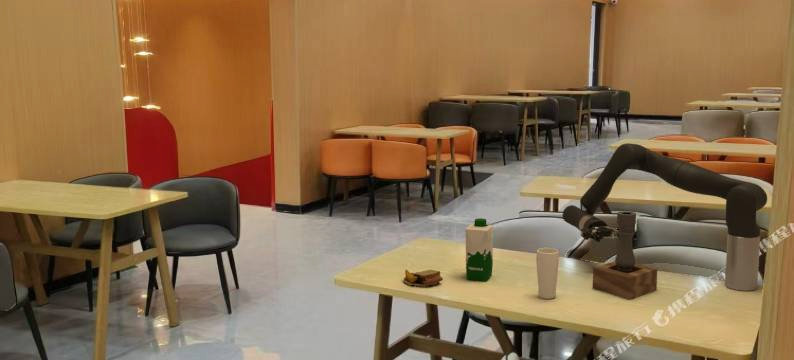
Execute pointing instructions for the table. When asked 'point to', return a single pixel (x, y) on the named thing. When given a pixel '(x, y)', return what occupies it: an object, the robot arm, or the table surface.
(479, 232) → the milk carton
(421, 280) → the toy sandwich meal
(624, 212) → the candle holder
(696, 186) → the robot arm
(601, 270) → the bore block
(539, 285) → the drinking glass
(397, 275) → the table surface
